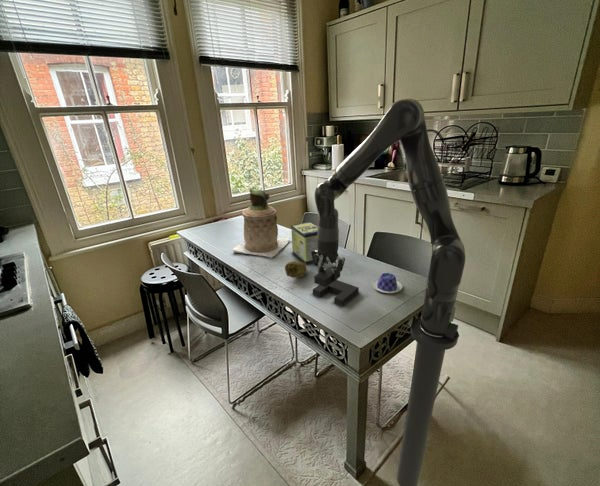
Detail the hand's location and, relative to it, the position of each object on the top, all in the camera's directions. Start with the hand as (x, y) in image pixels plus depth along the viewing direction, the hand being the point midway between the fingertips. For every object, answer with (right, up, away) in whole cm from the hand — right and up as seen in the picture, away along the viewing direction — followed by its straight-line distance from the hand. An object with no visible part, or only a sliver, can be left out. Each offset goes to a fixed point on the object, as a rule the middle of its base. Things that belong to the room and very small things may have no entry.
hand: (327, 278), depth 119 cm
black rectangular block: (0, 0, 0) cm, 0 cm away
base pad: (+4, -7, +8) cm, 11 cm away
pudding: (+26, -4, +11) cm, 28 cm away
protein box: (-6, +8, +41) cm, 42 cm away
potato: (-12, -1, +22) cm, 25 cm away
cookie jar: (-31, +13, +54) cm, 64 cm away
